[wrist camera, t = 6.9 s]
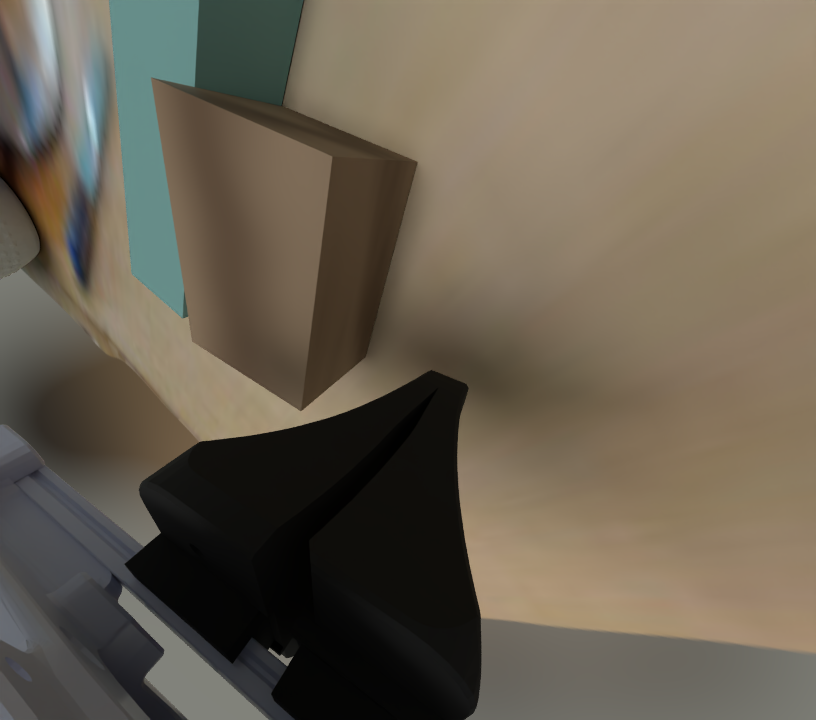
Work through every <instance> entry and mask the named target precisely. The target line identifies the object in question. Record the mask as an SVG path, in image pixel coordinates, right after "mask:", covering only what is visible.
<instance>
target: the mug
mask: <svg viewBox="0 0 816 720" xmlns="http://www.w3.org/2000/svg"><path fill="white" fill-rule="evenodd" d="M39 250H40V242H39V237H38V234H37V231H36V229H35V227H34V225H33V223H32V221H31V219H30V217H29V215H28V213H27V211H26V210H25V208H24V207H23V205H22V204H21V202H20V201H19V199H18V198H17V196H16V195H15V194H14V192H13V191H12V190H11V189H10V187H9V186H8V185H7V184H6V183H5V182H4V181H3V180H2V179H1V178H0V279H2V278H3V277H7V276H10V275H11V274H12V273H15V272H17V271H18V270H19V269H20V268H22V267H23V266H25V265H26V264H28V263H29V262H30V261H31V260H33V259H34V258H35V257H36V255H37V254H38V253H39Z"/></svg>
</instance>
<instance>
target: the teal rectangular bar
mask: <svg viewBox="0 0 816 720" xmlns="http://www.w3.org/2000/svg"><path fill="white" fill-rule="evenodd" d="M109 5H110V17H111V30H112V42H113V54H114V66H115V78H116V90H117V102H118V114H119V126H120V138H121V151H122V163H123V175H124V187H125V199H126V211H127V223H128V235H129V247H130V259H131V272H132V275H134V276H135V277H136V278H137V279H138V280H139V281H140V282H142V283H143V284H144V285H145V286H146V287H147V288H148V289H150V290H151V291H152V292H153V293H154V294H155V295H156V296H158V297H159V298H160V299H161V300H162V301H163V302H164V303H166V304H167V305H168V306H169V307H170V308H171V309H172V310H173V311H175V312H176V313H177V314H178V315H179V316H180V317H181V318H185V317H188V311H187V304H186V298H185V292H184V285H183V279H182V273H181V266H180V260H179V253H178V247H177V241H176V234H175V228H174V222H173V215H172V209H171V203H170V196H169V190H168V183H167V177H166V171H165V164H164V158H163V152H162V145H161V139H160V132H159V126H158V120H157V113H156V107H155V101H154V94H153V88H152V82H151V78H156V79H160V80H165V81H169V82H174V83H178V84H183V85H188V86H192V87H197V88H201V89H206V90H210V91H215V92H219V93H224V94H229V95H233V96H238V97H242V98H247V99H251V100H256V101H261V102H265V103H270V104H274V105H279V106H282V101H283V96H284V91H285V86H286V82H287V77H288V72H289V67H290V62H291V57H292V53H293V48H294V43H295V38H296V33H297V29H298V24H299V19H300V14H301V9H302V5H303V0H109Z"/></svg>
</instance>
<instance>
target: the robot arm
mask: <svg viewBox="0 0 816 720" xmlns="http://www.w3.org/2000/svg"><path fill="white" fill-rule="evenodd" d="M468 389H469V388H468V386H467V384H465V383H462V382H460V381H457V380H455V379H452V378H450V377H448V376H445V375H443V374H440V373H438V372H435V371H433V370H431V371H429V372H427V373H425V374H423V375H421V376H420V377H418V378H416V379H415V380H413V381H411V382H409V383H407V384H406V385H404V386H402V387H400V388H398V389H396V390H394V391H392V392H390V393H388V394H386V395H384V396H382V397H380V398H378V399H376V400H374V401H371V402H369V403H367V404H365V405H362V406H360V407H358V408H355V409H352V410H350V411H347V412H345V413H342V414H339V415H336V416H333V417H330V418H327V419H323V420H320V421H316V422H312V423H309V424H305V425H301V426H297V427H293V428H289V429H284V430H279V431H274V432H269V433H263V434H257V435H251V436H244V437H236V438H228V439H220V440H212V441H202V442H199V443H197V444H196V445H194V446H193V447H191V448H190V449H188V450H187V451H186V452H184V453H183V454H181V455H180V456H178V457H177V458H175V459H174V460H173V461H171V462H170V463H168V464H167V465H166V466H164V467H162V468H161V469H159V470H158V471H157V472H155V473H154V474H152V475H151V476H149V477H148V478H147V479H145V480H144V481H142V483H141V484H140V488H139V492H140V496H141V498H142V500H143V502H144V504H145V506H146V508H147V510H148V511H149V513H150V515H151V516H152V518H153V520H154V521H155V523H156V525H157V527H158V528H159V530H160V532H161V533H160V534H159V535H158V536H157V537H156V538H155V539H153V540H152V541H151V542H150V543H148V544H147V545H146V546H145V547H143V546H142V545H141V544H139V543H138V542H137V541H136V540H135V539H133V538H132V537H131V536H130V535H129V534H127V533H126V532H125V531H124V530H122V529H121V528H120V527H119V526H118V525H117V524H115V523H114V522H113V521H112V520H111V519H109V518H108V517H107V516H106V515H105V514H103V513H102V512H101V511H100V510H98V509H97V508H96V507H95V506H94V505H92V504H91V503H90V502H89V501H88V500H87V499H85V498H84V497H83V496H82V495H81V494H79V493H78V492H77V491H76V490H74V489H73V488H72V487H71V486H70V485H68V484H67V483H66V482H65V481H64V480H62V479H61V478H60V477H59V476H58V475H57V474H55V473H54V472H53V471H52V470H50V469H49V468H48V467H47V466H46V465H44V464H45V462H44V461H43V459H42V458H41V457H40V455H39V454H38V453H37V452H36V451H35V449H34V448H33V447H32V446H31V445H30V444H29V443H28V442H27V441H26V440H24V439H23V438H22V437H21V436H20V435H18V434H17V433H16V432H15V431H13V430H12V429H11V428H10V427H8V426H7V425H0V720H187V718H186V717H185V716H183V714H182V713H180V712H179V711H178V710H177V709H176V708H175V707H174V706H173V705H172V704H171V703H170V702H169V701H168V700H167V699H166V698H165V697H164V696H163V695H162V694H161V693H160V692H159V691H158V690H157V689H156V688H155V687H154V686H153V685H152V684H151V683H150V682H149V681H148V680H147V679H146V678H145V676H146V674H147V673H148V672H149V671H150V669H151V668H152V667H153V666H154V665H155V664H156V663H157V662H158V661H159V659H160V658H161V657H162V656H163V654H164V649H163V648H162V647H161V646H160V645H159V644H158V643H157V642H156V641H155V640H154V639H153V638H152V637H151V636H150V635H149V634H148V633H147V632H146V631H145V630H144V629H143V628H142V627H141V626H140V625H139V624H138V623H137V622H136V620H135V619H134V618H133V617H132V616H131V615H130V614H129V613H128V612H127V611H125V609H123V607H122V606H120V605H119V604H118V598H119V596H120V594H121V592H122V585H123V586H124V587H125V588H126V589H127V590H128V591H129V592H130V593H131V594H132V595H134V596H135V597H136V598H137V599H138V600H139V601H140V602H141V603H142V604H143V605H144V606H145V607H147V608H148V609H149V610H150V611H151V612H152V613H153V614H155V616H156V617H157V618H159V619H160V620H161V621H162V622H163V623H164V624H165V625H166V626H167V627H168V628H170V629H171V630H172V631H173V632H174V633H175V634H176V635H177V636H178V637H179V638H180V639H182V640H183V641H184V642H185V643H186V644H187V645H188V646H189V647H190V648H191V649H192V650H194V651H195V652H196V653H197V654H198V655H199V656H200V657H201V658H202V659H203V660H204V661H205V662H207V663H208V664H209V665H210V666H211V667H212V668H213V669H214V670H215V671H216V672H217V673H219V674H220V675H221V676H222V677H223V678H224V679H225V680H226V681H227V682H228V683H229V684H231V685H232V686H233V687H234V688H235V689H236V690H237V691H238V692H239V693H241V694H242V695H243V696H244V697H245V698H246V699H247V700H248V701H249V702H250V703H251V704H252V705H254V706H255V707H256V708H257V709H258V710H259V711H260V712H261V713H262V714H263V715H264V716H265V717H267V718H268V719H269V720H465V719H466V718H467V717H469V716H470V715H472V714H473V713H474V711H475V709H476V706H477V703H478V698H479V690H480V680H481V615H480V609H479V605H478V601H477V596H476V592H475V588H474V583H473V579H472V574H471V569H470V565H469V559H468V554H467V548H466V543H465V537H464V530H463V523H462V515H461V508H460V500H459V488H458V472H457V442H458V429H459V419H460V414H461V411H462V408H463V405H464V402H465V399H466V395H467V392H468ZM269 648H271V649H272V650H273V651H275V652H276V653H277V654H278V655H279V656H280V655H281V654H282V655H283V656H285V657H286V658H290V657H293V656H294V657H293V658H292V660H291V662H290V663H289V665H288V666H286V665H285V664H284V663H282V662H281V661H280V660H279V659H277V658H276V657H275V656H274V655H273V654H272V653H270V652H269V651H268V649H269Z"/></svg>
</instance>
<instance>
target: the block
mask: <svg viewBox="0 0 816 720" xmlns="http://www.w3.org/2000/svg"><path fill="white" fill-rule="evenodd" d="M151 82H152V88H153V94H154V101H155V107H156V113H157V120H158V126H159V132H160V139H161V145H162V152H163V158H164V164H165V171H166V177H167V183H168V190H169V196H170V203H171V209H172V215H173V222H174V228H175V234H176V241H177V247H178V253H179V260H180V266H181V273H182V279H183V285H184V292H185V298H186V304H187V311H188V317H189V324H190V330H191V336H192V341H193V342H194V343H196V344H197V345H199V346H200V347H202V348H203V349H205V350H207V351H208V352H210V353H211V354H213V355H214V356H216V357H217V358H219V359H221V360H222V361H224V362H225V363H227V364H228V365H230V366H231V367H233V368H235V369H236V370H238V371H239V372H241V373H242V374H244V375H245V376H247V377H249V378H250V379H252V380H253V381H255V382H256V383H258V384H259V385H261V386H263V387H264V388H266V389H267V390H269V391H270V392H272V393H273V394H275V395H277V396H278V397H280V398H281V399H283V400H284V401H286V402H287V403H289V404H291V405H292V406H294V407H295V408H297V409H298V410H300V411H302V410H303V409H304V408H305V407H307V406H308V405H309V404H310V403H311V402H313V401H314V400H315V399H316V398H317V397H319V396H320V395H321V394H322V393H323V392H324V391H326V390H327V389H328V388H329V387H330V386H332V385H333V384H334V383H335V382H336V381H338V380H339V379H340V378H341V377H342V376H343V375H345V374H346V373H347V372H348V371H349V370H351V369H352V368H353V367H354V366H355V365H357V364H358V363H359V362H360V361H361V360H363V359H364V358H365V357H366V353H367V349H368V346H369V342H370V338H371V334H372V331H373V327H374V323H375V319H376V316H377V312H378V308H379V304H380V301H381V297H382V293H383V289H384V286H385V282H386V278H387V274H388V271H389V267H390V263H391V259H392V256H393V252H394V248H395V244H396V241H397V237H398V233H399V229H400V226H401V222H402V218H403V214H404V211H405V207H406V203H407V199H408V196H409V192H410V188H411V184H412V181H413V177H414V173H415V169H416V166H417V161H414V160H412V159H409V158H407V157H404V156H402V155H400V154H397V153H395V152H392V151H390V150H387V149H385V148H383V147H380V146H378V145H375V144H373V143H371V142H368V141H366V140H363V139H361V138H358V137H356V136H354V135H351V134H349V133H346V132H344V131H341V130H339V129H337V128H334V127H332V126H329V125H327V124H324V123H322V122H320V121H317V120H315V119H312V118H310V117H308V116H305V115H303V114H300V113H298V112H295V111H293V110H291V109H288V108H286V107H283V106H279V105H274V104H270V103H265V102H261V101H256V100H251V99H247V98H242V97H238V96H233V95H229V94H224V93H219V92H215V91H210V90H206V89H201V88H197V87H192V86H188V85H183V84H178V83H174V82H169V81H165V80H160V79H156V78H151Z"/></svg>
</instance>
